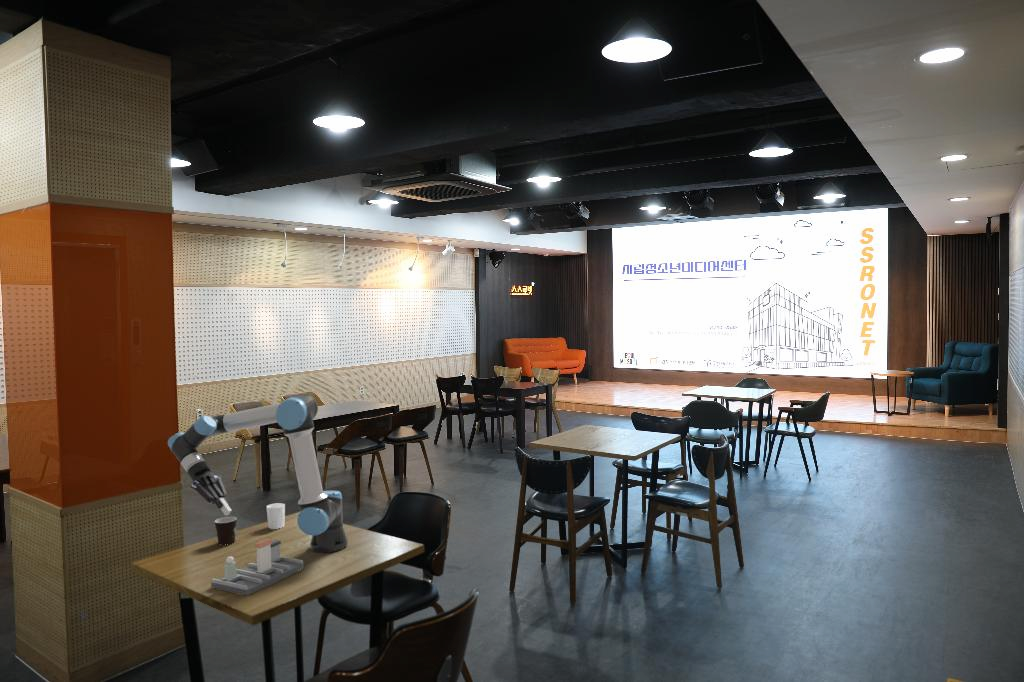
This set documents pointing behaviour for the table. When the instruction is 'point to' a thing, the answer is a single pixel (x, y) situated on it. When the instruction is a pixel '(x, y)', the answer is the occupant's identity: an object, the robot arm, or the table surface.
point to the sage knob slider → (230, 570)
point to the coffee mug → (226, 530)
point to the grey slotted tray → (259, 576)
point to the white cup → (276, 515)
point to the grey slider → (275, 551)
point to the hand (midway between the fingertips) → (228, 513)
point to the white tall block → (264, 557)
